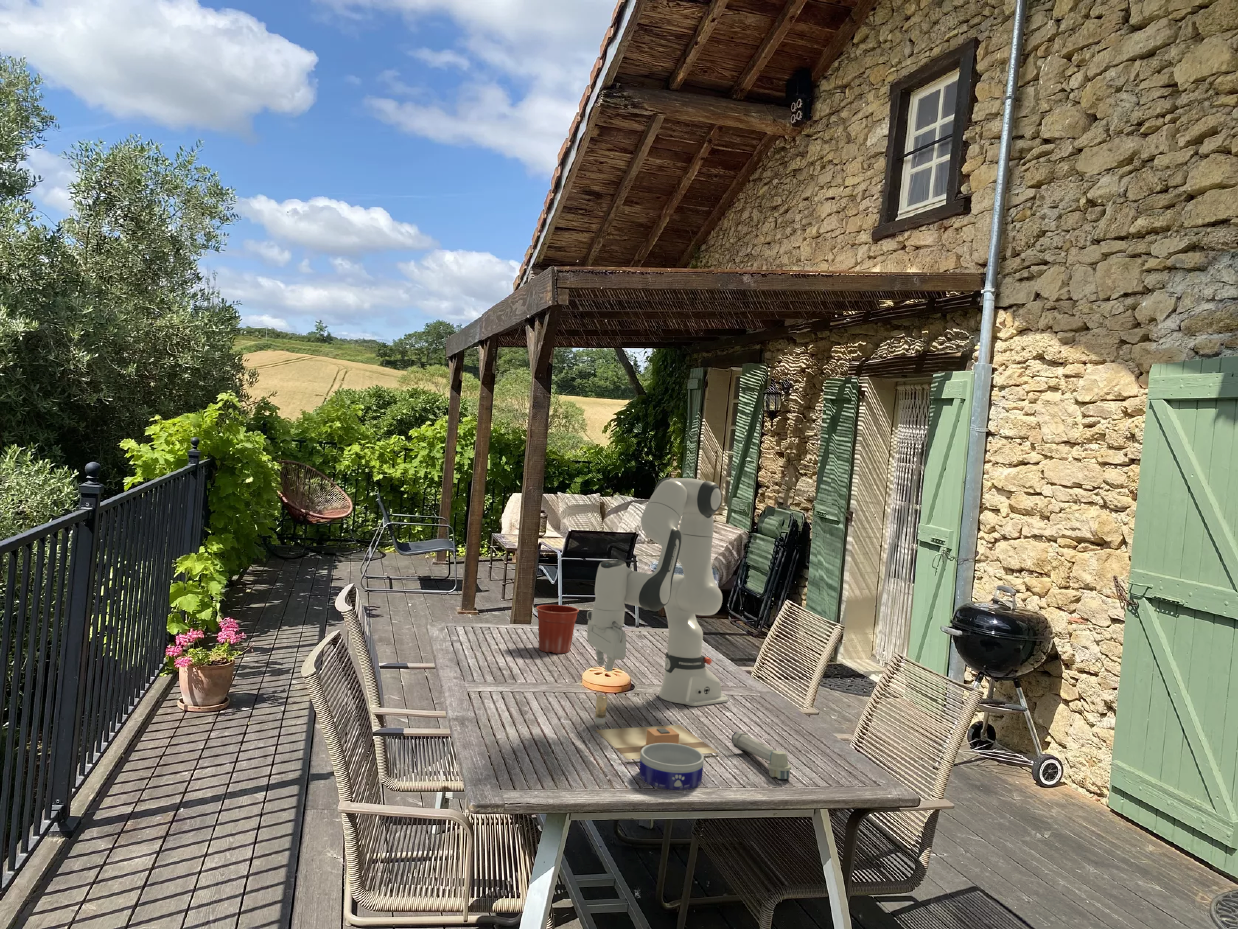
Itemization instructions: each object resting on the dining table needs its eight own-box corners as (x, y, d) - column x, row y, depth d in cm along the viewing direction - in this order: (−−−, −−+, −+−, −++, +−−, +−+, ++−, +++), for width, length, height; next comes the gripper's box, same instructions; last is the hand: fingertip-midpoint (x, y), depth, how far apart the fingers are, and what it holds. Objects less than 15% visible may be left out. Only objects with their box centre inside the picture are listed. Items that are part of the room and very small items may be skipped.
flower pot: (538, 643, 330) (541, 602, 330) (579, 647, 328) (582, 607, 328) (528, 652, 314) (531, 610, 314) (571, 657, 312) (574, 614, 312)
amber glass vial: (602, 727, 235) (604, 695, 235) (606, 730, 232) (609, 698, 232) (592, 727, 233) (595, 695, 233) (596, 731, 231) (599, 698, 231)
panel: (679, 729, 238) (679, 725, 238) (718, 757, 218) (718, 752, 218) (594, 734, 228) (595, 730, 228) (627, 764, 208) (627, 759, 208)
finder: (669, 742, 222) (671, 726, 222) (678, 749, 218) (679, 733, 218) (645, 744, 220) (647, 728, 220) (653, 751, 215) (655, 734, 215)
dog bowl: (655, 793, 191) (658, 767, 191) (628, 769, 205) (630, 744, 205) (713, 788, 197) (715, 762, 197) (683, 764, 211) (685, 740, 211)
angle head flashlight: (746, 730, 230) (795, 750, 206) (746, 755, 229) (795, 779, 205) (729, 731, 228) (776, 751, 204) (728, 756, 227) (776, 780, 204)
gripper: (633, 626, 224) (629, 677, 224) (605, 611, 243) (601, 658, 243) (612, 626, 222) (608, 678, 222) (584, 611, 240) (581, 659, 240)
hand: (604, 667), depth 232 cm, fingers open, 5 cm apart
